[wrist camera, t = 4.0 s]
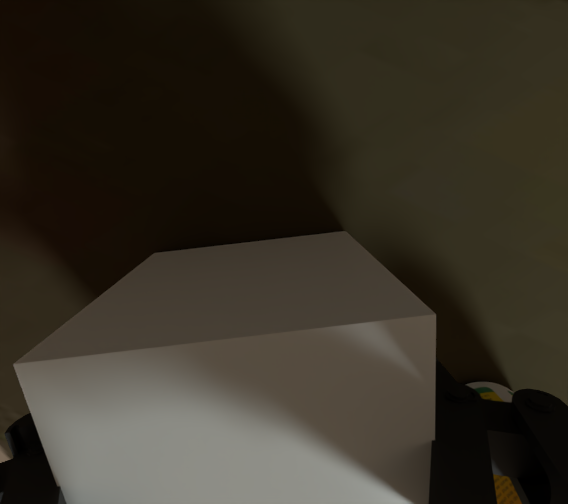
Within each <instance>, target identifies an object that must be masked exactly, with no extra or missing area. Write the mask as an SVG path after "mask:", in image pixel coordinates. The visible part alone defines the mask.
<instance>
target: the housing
mask: <svg viewBox="0 0 568 504" xmlns="http://www.w3.org/2000/svg"><path fill="white" fill-rule="evenodd" d="M13 365H14V368H15V371H16V374H17V376H18V379H19V382H20V385H21V387H22V390H23V393H24V396H25V399H26V401H27V404H28V407H29V410H30V412H31V415H32V418H33V421H34V423H35V426H36V429H37V432H38V434H39V437H40V440H41V443H42V446H43V448H44V451H45V454H46V457H47V459H48V462H49V465H50V468H51V470H52V473H53V476H54V479H55V481H56V484H57V487H58V486H60V487H61V490H62V493H63V495H64V498H65V501H66V504H429V485H430V465H431V445H432V440H435V380H436V314H435V313H434V312H433V311H432V310H431V309H430V308H429V307H428V306H427V305H425V304H424V303H423V302H422V301H421V300H420V299H419V298H418V297H417V296H416V295H415V294H413V293H412V292H411V291H410V290H409V289H408V288H407V287H406V286H405V285H404V284H403V283H402V282H400V281H399V280H398V279H397V278H396V277H395V276H394V275H393V274H392V273H391V272H390V271H388V270H387V269H386V268H385V267H384V266H383V265H382V264H381V263H380V262H379V261H378V260H377V259H375V258H374V257H373V256H372V255H371V254H370V253H369V252H368V251H367V250H366V249H365V248H363V247H362V246H361V245H360V244H359V243H358V242H357V241H356V240H355V239H354V238H353V237H352V236H350V235H349V234H348V233H347V232H346V231H341V232H332V233H323V234H315V235H306V236H297V237H289V238H280V239H271V240H263V241H254V242H245V243H237V244H228V245H219V246H211V247H202V248H193V249H185V250H176V251H167V252H159V253H154V254H152V255H151V256H150V257H148V258H147V259H146V260H145V261H143V262H142V263H141V264H140V265H138V266H137V267H136V268H135V269H133V270H132V271H131V272H129V273H128V274H127V275H126V276H124V277H123V278H122V279H121V280H119V281H118V282H117V283H116V284H114V285H113V286H112V287H110V288H109V289H108V290H107V291H105V292H104V293H103V294H102V295H100V296H99V297H98V298H96V299H95V300H94V301H93V302H91V303H90V304H89V305H88V306H86V307H85V308H84V309H83V310H81V311H80V312H79V313H77V314H76V315H75V316H74V317H72V318H71V319H70V320H69V321H67V322H66V323H65V324H64V325H62V326H61V327H60V328H58V329H57V330H56V331H55V332H53V333H52V334H51V335H50V336H48V337H47V338H46V339H45V340H43V341H42V342H41V343H39V344H38V345H37V346H36V347H34V348H33V349H32V350H31V351H29V352H28V353H27V354H25V355H24V356H23V357H22V358H20V359H19V360H18V361H17V362H15V363H14V364H13Z"/></svg>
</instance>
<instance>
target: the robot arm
mask: <svg viewBox="0 0 568 504" xmlns="http://www.w3.org/2000/svg"><path fill="white" fill-rule="evenodd" d="M5 436H6V439H7V442H8V444H9V447H10V449H11V452H12V454H13V459H11V460H8V461H5V462H2V463H0V504H66V501H65V498H64V495H63V493H62V490H61V487H60V486H58V487H57V484H56V481H55V479H54V476H53V473H52V470H51V468H50V465H49V462H48V459H47V457H46V454H45V451H44V448H43V446H42V443H41V440H40V437H39V434H38V432H37V429H36V426H35V423H34V421H33V418H32V415H31V413H29V414H27V415H25V416H23V417H22V418H20V419H18V420H17V421H15V422H14V423H13V424H12V425H11V426H10V427H9V428H8V429H7V431H6V432H5ZM493 474H495V475H501V476H507V477H509V478H510V480H511V482H512V484H513V486H514V488H515V490H516V492H517V494H518V497H519V499H520V501H521V503H522V504H568V406H567V405H566V404H565V403H564V402H562V401H561V400H560V399H559V398H557V397H555V396H553V395H551V394H549V393H546V392H543V391H540V390H533V389H522V390H518V391H516V392H514V394H513V396H512V402H503V401H493V400H487V399H483V398H481V395H480V394H479V393H478V392H477V391H476V390H475V389H473V388H471V387H469V386H467V385H464V384H460V383H457V382H456V381H455V379H454V378H453V377H452V376H451V375H450V374H449V372H448V371H447V370H446V369H445V368H444V366H443V365H442V364H441V363H440V362H439V360H438V359H437V358H436V380H435V440H432V445H431V465H430V485H429V504H497V498H496V491H495V484H494V476H493Z"/></svg>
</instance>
